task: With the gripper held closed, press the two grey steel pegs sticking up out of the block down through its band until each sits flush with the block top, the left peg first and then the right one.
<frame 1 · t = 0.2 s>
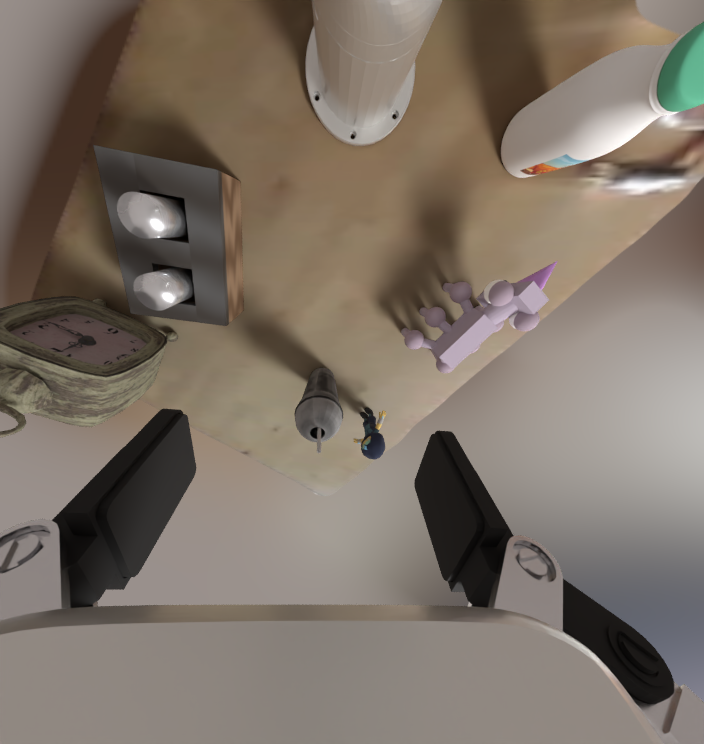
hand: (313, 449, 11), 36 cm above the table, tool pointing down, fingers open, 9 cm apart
peg block: (199, 245, 39), on the table
milk bottle: (526, 143, 36), on the table
tabletop clock: (137, 332, 45), on the table
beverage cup: (322, 377, 51), on the table
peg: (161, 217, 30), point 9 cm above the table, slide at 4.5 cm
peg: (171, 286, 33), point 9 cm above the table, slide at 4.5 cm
character figure: (367, 412, 55), on the table
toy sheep: (456, 303, 45), on the table
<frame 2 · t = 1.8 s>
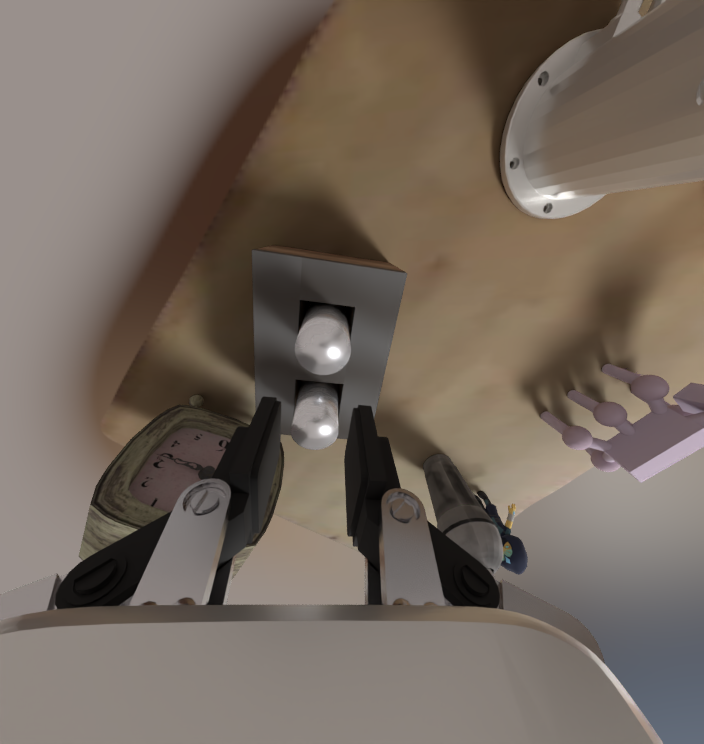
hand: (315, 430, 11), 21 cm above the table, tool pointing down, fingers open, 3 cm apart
peg block: (324, 333, 32), on the table
tabletop clock: (233, 426, 37), on the table
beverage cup: (436, 463, 43), on the table
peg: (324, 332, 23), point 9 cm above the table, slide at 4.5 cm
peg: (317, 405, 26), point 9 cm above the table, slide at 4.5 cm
character figure: (478, 495, 48), on the table
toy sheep: (611, 383, 38), on the table
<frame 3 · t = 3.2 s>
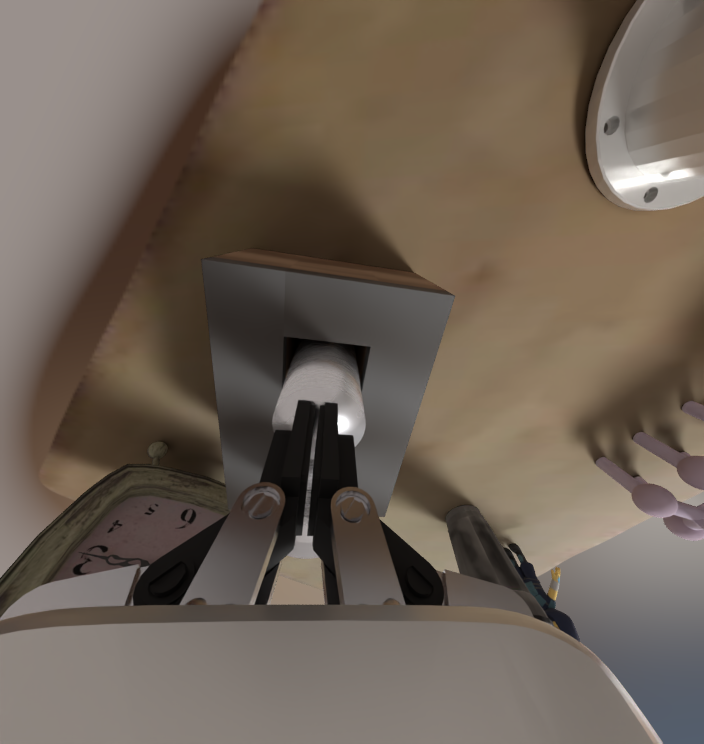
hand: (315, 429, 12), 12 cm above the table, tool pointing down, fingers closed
peg block: (324, 366, 24), on the table
tabletop clock: (209, 475, 30), on the table
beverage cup: (461, 514, 35), on the table
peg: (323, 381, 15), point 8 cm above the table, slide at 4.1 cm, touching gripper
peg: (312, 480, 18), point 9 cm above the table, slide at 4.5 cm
character figure: (509, 547, 40), on the table
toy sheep: (690, 424, 30), on the table
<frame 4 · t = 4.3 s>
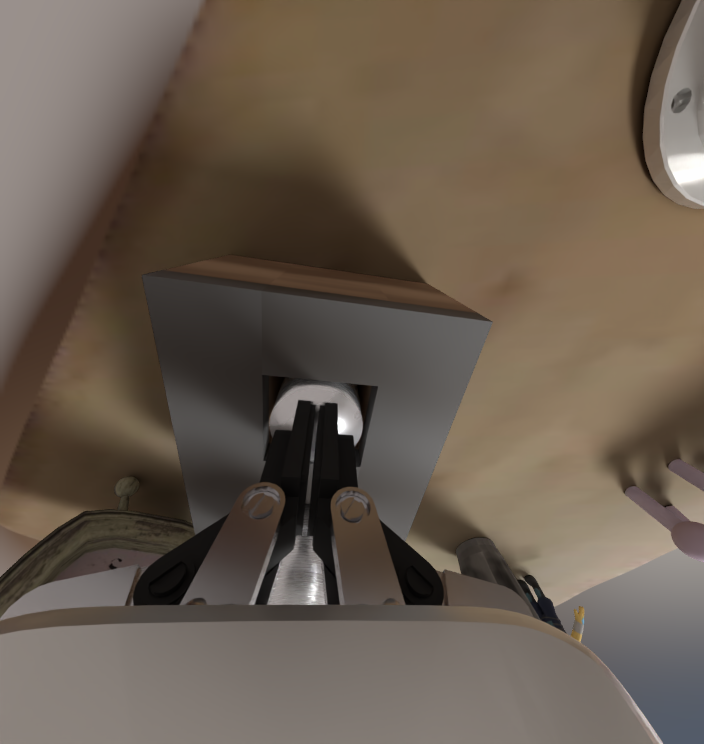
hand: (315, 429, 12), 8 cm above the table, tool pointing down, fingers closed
peg block: (319, 391, 20), on the table
tabletop clock: (189, 511, 26), on the table
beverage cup: (474, 547, 32), on the table
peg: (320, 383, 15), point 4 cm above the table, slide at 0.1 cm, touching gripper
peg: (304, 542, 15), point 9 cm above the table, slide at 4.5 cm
character figure: (525, 579, 36), on the table
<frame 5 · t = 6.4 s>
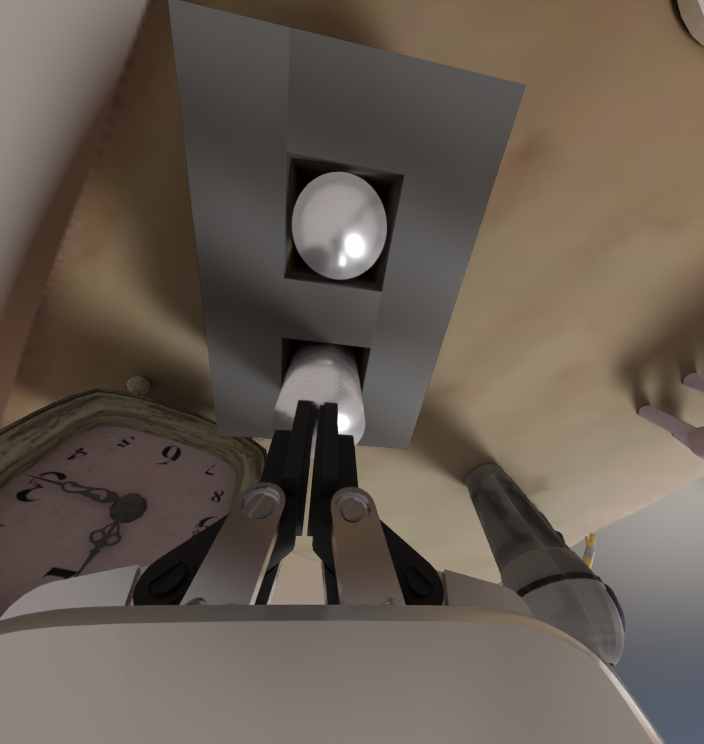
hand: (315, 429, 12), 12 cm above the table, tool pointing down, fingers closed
peg block: (333, 278, 20), on the table
tabletop clock: (199, 423, 26), on the table
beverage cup: (483, 476, 31), on the table
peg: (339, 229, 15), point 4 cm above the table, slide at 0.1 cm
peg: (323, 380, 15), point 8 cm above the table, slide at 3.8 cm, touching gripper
character figure: (534, 517, 36), on the table
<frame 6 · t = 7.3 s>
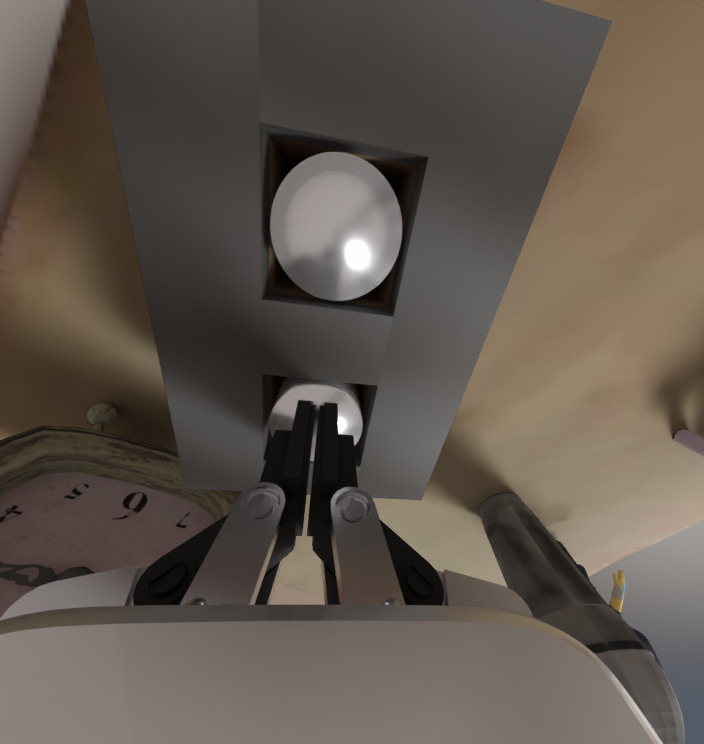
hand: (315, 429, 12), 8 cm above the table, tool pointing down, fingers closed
peg block: (330, 290, 17), on the table
tabletop clock: (178, 453, 23), on the table
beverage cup: (498, 505, 28), on the table
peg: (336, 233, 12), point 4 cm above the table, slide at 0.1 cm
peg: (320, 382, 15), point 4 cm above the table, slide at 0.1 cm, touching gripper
character figure: (552, 546, 33), on the table
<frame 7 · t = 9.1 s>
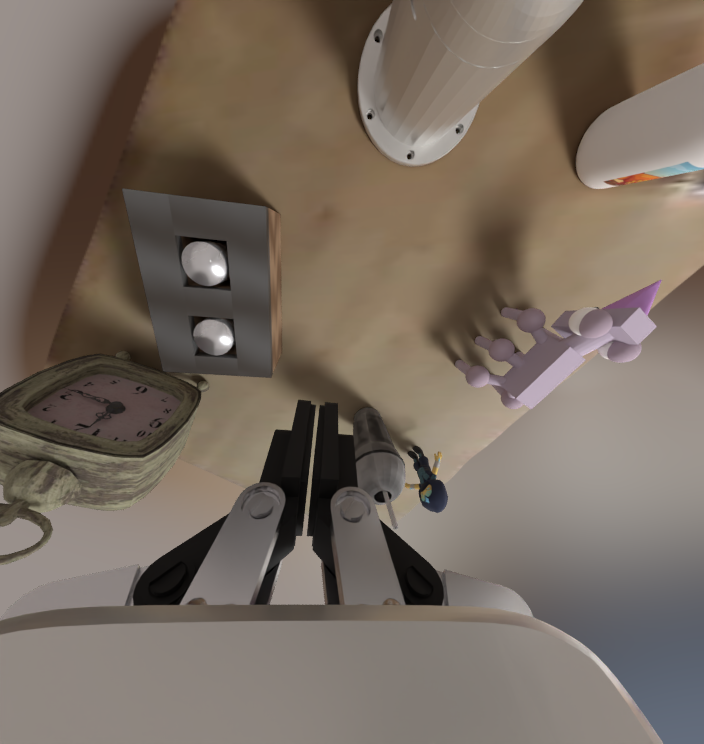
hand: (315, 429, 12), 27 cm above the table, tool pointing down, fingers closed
peg block: (233, 286, 35), on the table
milk bottle: (604, 150, 31), on the table
tabletop clock: (164, 383, 40), on the table
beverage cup: (366, 417, 45), on the table
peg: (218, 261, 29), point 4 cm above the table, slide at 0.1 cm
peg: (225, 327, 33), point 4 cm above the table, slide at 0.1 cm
character figure: (415, 451, 50), on the table
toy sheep: (515, 327, 40), on the table
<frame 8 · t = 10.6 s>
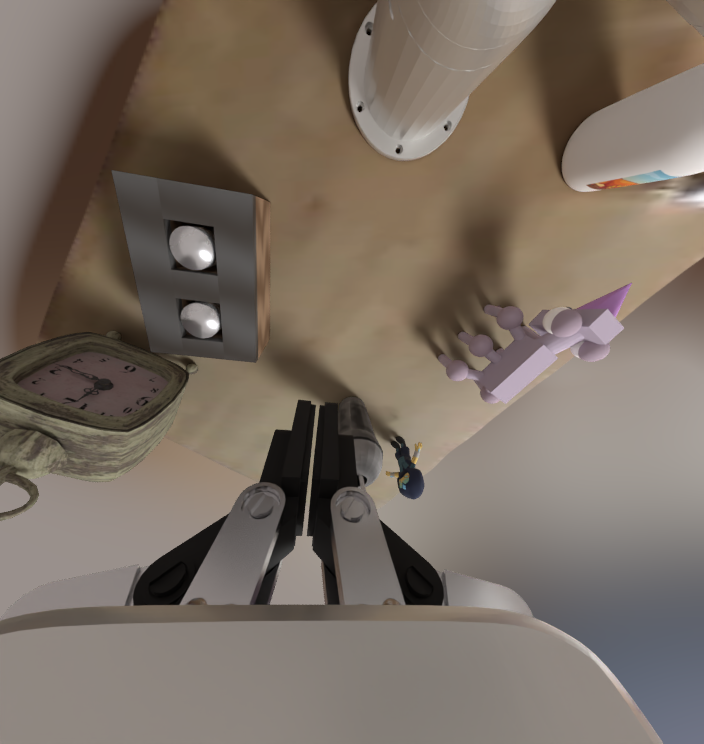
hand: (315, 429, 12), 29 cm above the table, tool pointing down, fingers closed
peg block: (223, 271, 35), on the table
milk bottle: (590, 154, 32), on the table
tabletop clock: (154, 364, 41), on the table
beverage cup: (351, 406, 47), on the table
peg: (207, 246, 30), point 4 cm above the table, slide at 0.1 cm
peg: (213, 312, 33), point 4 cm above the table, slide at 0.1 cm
character figure: (398, 441, 51), on the table
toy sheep: (498, 325, 41), on the table
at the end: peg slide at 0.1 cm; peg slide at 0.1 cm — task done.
